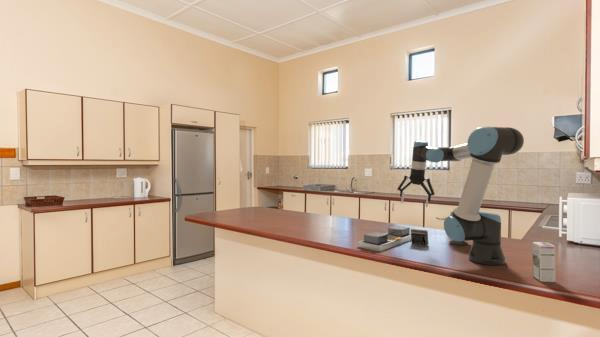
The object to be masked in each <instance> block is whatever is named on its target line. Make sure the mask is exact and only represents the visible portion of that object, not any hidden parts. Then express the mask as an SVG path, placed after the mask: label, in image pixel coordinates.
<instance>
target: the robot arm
mask: <svg viewBox="0 0 600 337" xmlns="http://www.w3.org/2000/svg"><path fill="white" fill-rule="evenodd" d="M524 142H525V139H524V136H523V134H522V133H521V131H519V130H518V129H516V128H514V127H508V126H507V127H505V126H504V127H503V126H502V127H501V126H500V127H499V126H481V127H477V128H476V129H475V130H473V131H472V132H471V133H470V134H469V136H468V138H467V142H466V143H463V144H459V145H455V146H449V147H445V146H444V147H443V146H436V147H435V146H434V147H433V146H429V142H428V141H423V140H415V141H414V142H413V147H412V157H411V158H412V159H411V168H410V175H408V174H405V175H404V177H403V180H402V181H401V183H400V184H399V185H398V187H397V191H399V192H400V193H399V197H400V198H401V199H400V200H401V201H400V203H401V204H403V203H404V201H405V200H404V198H405V190H406V189H407V188H408V187H409V186H410V185H411V184H413V185H417V186H419V185H420V186H421V187H422V188H423V189H424V191H425V193H426V194H427V195H426V200H425V208H428V205H429V202H430V201H431V198H432V196H435V194H436V193H435V191H434V188H433V186H432V183H431V178H430V177H425V175H426V174H425V173H426V164H427V161H428V162H431V163H437V164H438V163H439V162H460V161H463V160H465V159H472V161H471V163H470V166H469V170H468V174H467V177H466V180H465V182H464V183H465V184H464V186H463V189H462V193H461V196H460V199H459V203H458V206H457V207H454V208H453V211H452V212H453V213H452V216H449V215H448V216H446V217H445V219H444V220H443V229H444V232H445V234H446V236H447V237H448V238H449V239H450V241H452V240H453V241H465V242H468V241H472V245H471V247H470V249H469V252H468V261H469V260H470V261H471V262H473V263H476V264H479V265H480V264H482V265H487V266H502V265H505V264H506V257H505V254H504V252H503V249H502V246H501V245H502V220H501V219H502V218H501V215H499V214H497V213H492V212H485V211H481V210H480V209H481V206H482V203H483V200H484V197H485V194H486V191H487V188H488V186H489V184H490V183H489V182H490V180H491V177H492V174H493V170H494V167H495V166H496V165H497V164H499V163H501V159H502V158H503V156H509V155H513V154H517V153H518V152H519V151H520V150H521V149H522V148H523V147H524V144H525V143H524ZM408 179H409V180H410V181H409V182H407V183H406V185H404V184H405V182H406V181H407V180H408ZM424 182H426V183H427V185H426V184H425V183H424ZM403 185H404V186H403ZM427 186H428V187H427ZM428 188H429V189H428Z"/></svg>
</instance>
